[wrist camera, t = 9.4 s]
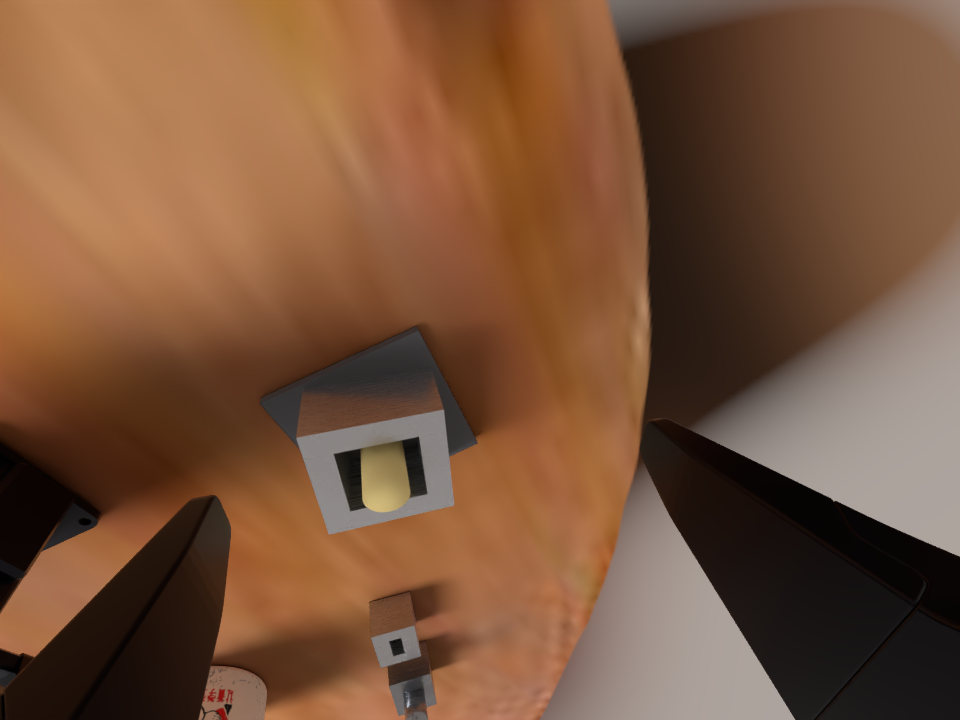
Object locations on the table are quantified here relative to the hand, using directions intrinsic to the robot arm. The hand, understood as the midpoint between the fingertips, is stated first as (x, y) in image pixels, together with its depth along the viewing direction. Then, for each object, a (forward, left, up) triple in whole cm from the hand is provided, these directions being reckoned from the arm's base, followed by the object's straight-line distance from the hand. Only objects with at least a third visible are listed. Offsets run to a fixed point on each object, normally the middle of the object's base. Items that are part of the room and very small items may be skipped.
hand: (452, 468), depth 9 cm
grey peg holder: (-4, -7, -12) cm, 15 cm away
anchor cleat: (-13, -30, -12) cm, 35 cm away
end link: (-4, -7, -12) cm, 14 cm away
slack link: (-11, -23, -12) cm, 28 cm away
